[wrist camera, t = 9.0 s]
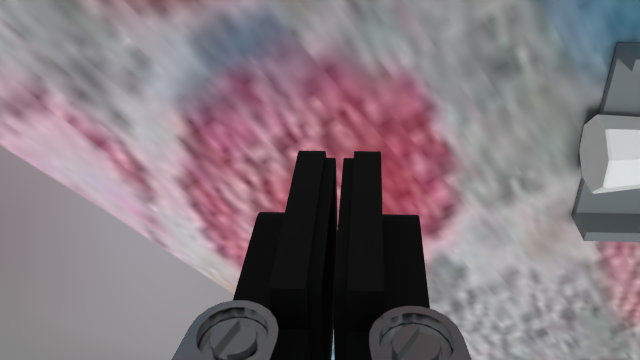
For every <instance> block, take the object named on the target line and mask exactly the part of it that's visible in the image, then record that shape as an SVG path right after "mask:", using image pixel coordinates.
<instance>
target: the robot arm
mask: <svg viewBox="0 0 640 360" xmlns="http://www.w3.org/2000/svg"><path fill="white" fill-rule="evenodd" d="M333 330H334V351H335V360H471V357H470V354H469V352H468V349H467V346H466V343H465V341H464V338H463V336H462V334H461V332H460V331H459V329H458V327H457V326H456V325H455V324H454V323H453V322H452V321H451V320H450V319H449V318H448V317H446V316H445V315H443V314H441V313H439V312H437V311H435V310H432V309H430V306H429V297H428V289H427V280H426V271H425V263H424V254H423V245H422V236H421V228H420V220H419V216H418V215H388V214H382V178H381V152H370V151H354V158H344V161H343V173H342V185H341V197H340V209H339V221H338V230H337V185H336V158H326V152H325V151H299V152H298V156H297V160H296V165H295V169H294V174H293V179H292V183H291V188H290V192H289V197H288V201H287V206H286V210H285V212H260V213H259V214H258V216H257V218H256V222H255V225H254V229H253V232H252V236H251V239H250V243H249V246H248V250H247V253H246V257H245V260H244V264H243V267H242V271H241V274H240V278H239V281H238V285H237V288H236V292H235V295H234V299H233V301H228V302H223V303H220V304H217V305H215V306H213V307H211V308H208V309H207V310H206V311H204V312H203V313H202V314H200V315H199V316H198V317H197V318H196V319H195V321H194V322H193V323H192V325H191V326H190V327H189V329H188V331H187V333H186V335H185V337H184V338H183V340H182V342H181V344H180V345H179V347H178V349H177V351H176V353H175V355H174V356H173V358H172V360H331V356H332V343H333Z"/></svg>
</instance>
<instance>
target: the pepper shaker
mask: <svg viewBox="0 0 640 360" xmlns="http://www.w3.org/2000/svg"><path fill="white" fill-rule="evenodd" d="M579 152H580V161H581V170H582V177H583V179H584V181H585V182H586V184H587V186H588V187H589V189H590V191H591V192H592V193H593V194H597V193H605V192H613V191H622V190H630V189H638V188H640V117H632V116H615V115H598V114H597V115H596V116H594V117H593V118H592V119H591V120H590V121H588V122H587V123H586V124H585V125H584V128H583V133H582V138H581V143H580V148H579Z"/></svg>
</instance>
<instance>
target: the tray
mask: <svg viewBox="0 0 640 360" xmlns="http://www.w3.org/2000/svg"><path fill="white" fill-rule="evenodd" d="M599 115H615V116H632V117H640V42H618V43H617V46H616V50H615V54H614V58H613V62H612V65H611V69H610V73H609V77H608V81H607V84H606V88H605V92H604V96H603V100H602V103H601V107H600V111H599ZM572 218H573V220H574V222H575V224H576V226H577V228H578V230H579V232H580V234H581V236H582V238H583V240H584V241H618V242H640V188H638V189H630V190H622V191H613V192H605V193H597V194H593V193H592V192H591V191H590V189H589V187H588V186H587V184H586V182H585V181H584V179H583V177H582V180H581V183H580V187H579V191H578V195H577V199H576V202H575V206H574V210H573V214H572Z"/></svg>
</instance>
